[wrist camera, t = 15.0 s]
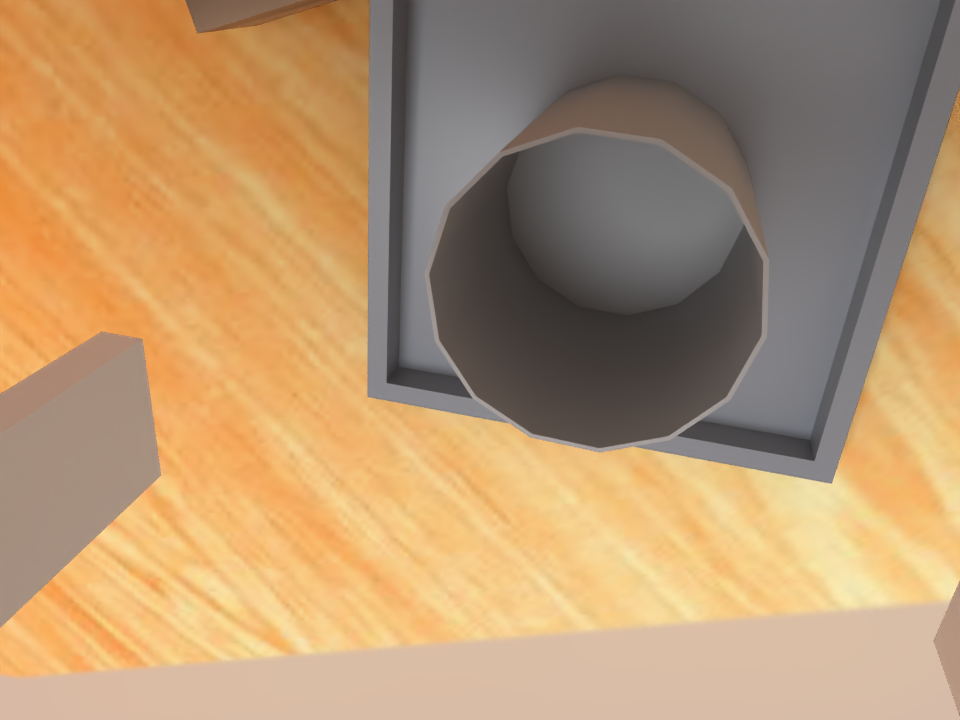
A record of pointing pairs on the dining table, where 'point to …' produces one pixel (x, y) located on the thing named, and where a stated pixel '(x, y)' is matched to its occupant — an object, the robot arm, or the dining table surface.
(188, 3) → the walnut block
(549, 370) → the cup
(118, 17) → the dining table surface
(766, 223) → the tray
